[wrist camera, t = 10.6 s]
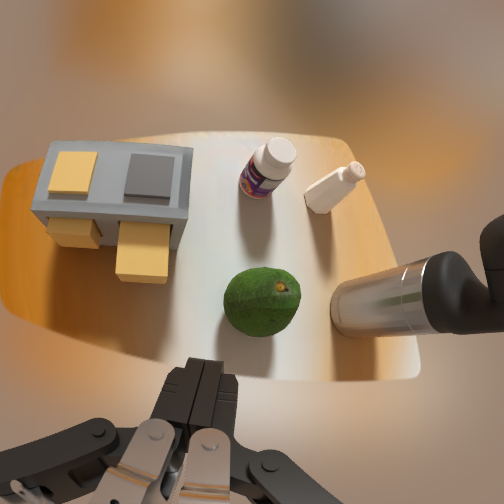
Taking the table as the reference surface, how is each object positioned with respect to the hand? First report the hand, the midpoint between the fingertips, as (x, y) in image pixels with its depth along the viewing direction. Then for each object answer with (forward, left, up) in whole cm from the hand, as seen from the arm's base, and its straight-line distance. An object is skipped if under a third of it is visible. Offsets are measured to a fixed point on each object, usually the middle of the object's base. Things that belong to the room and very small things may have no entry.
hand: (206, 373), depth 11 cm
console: (+8, -16, -23) cm, 28 cm away
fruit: (-9, -5, -23) cm, 25 cm away
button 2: (+4, -11, -19) cm, 22 cm away
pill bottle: (-11, -23, -23) cm, 34 cm away
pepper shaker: (-22, -22, -23) cm, 39 cm away
